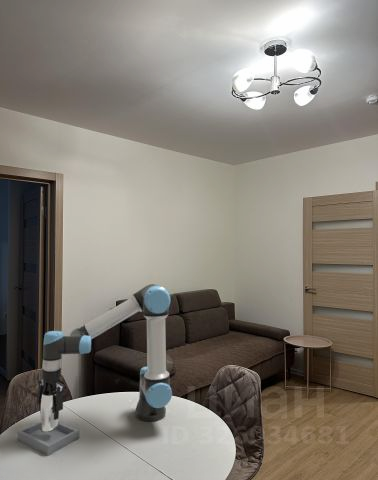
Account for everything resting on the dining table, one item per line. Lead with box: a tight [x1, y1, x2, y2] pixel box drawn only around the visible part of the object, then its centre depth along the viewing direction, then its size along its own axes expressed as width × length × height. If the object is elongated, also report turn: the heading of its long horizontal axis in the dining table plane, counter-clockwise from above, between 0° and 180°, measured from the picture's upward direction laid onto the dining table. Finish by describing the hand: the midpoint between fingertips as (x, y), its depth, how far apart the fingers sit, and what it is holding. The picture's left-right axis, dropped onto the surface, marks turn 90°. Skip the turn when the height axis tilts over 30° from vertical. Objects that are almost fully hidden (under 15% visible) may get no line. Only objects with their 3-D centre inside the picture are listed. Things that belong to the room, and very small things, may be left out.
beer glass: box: [40, 391, 56, 432], centre depth 146 cm, size 7×7×15 cm
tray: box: [16, 421, 80, 456], centre depth 145 cm, size 20×15×4 cm
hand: (48, 424), depth 145 cm, fingers closed on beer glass, 6 cm apart
